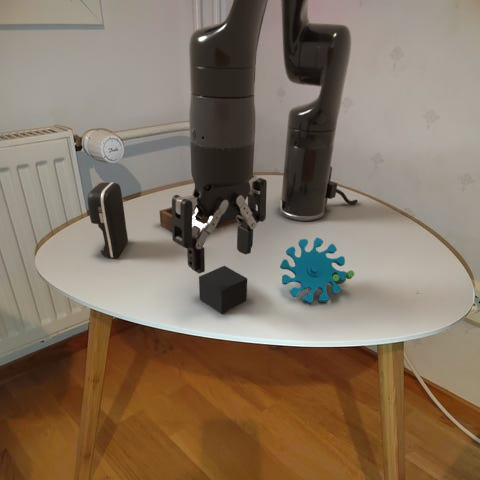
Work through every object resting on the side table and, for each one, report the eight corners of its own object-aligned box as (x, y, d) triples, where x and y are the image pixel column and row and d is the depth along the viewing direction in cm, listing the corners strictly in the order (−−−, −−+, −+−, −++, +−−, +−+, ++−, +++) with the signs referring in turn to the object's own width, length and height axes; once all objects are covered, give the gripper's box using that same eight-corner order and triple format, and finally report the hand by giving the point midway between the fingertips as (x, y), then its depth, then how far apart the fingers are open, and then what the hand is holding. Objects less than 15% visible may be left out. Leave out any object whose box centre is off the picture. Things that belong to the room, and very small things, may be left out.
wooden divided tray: (160, 225, 83) (159, 210, 81) (219, 206, 92) (218, 192, 90) (185, 239, 78) (184, 223, 77) (244, 218, 87) (245, 203, 85)
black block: (224, 287, 65) (224, 265, 63) (246, 301, 62) (247, 278, 60) (199, 299, 62) (198, 276, 60) (221, 314, 59) (221, 290, 57)
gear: (275, 294, 61) (287, 229, 62) (271, 301, 67) (282, 242, 68) (349, 309, 61) (360, 244, 62) (338, 315, 67) (348, 256, 68)
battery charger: (109, 240, 77) (98, 178, 70) (129, 241, 77) (120, 179, 70) (95, 258, 72) (81, 192, 65) (116, 259, 71) (105, 194, 65)
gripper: (194, 154, 42) (198, 289, 52) (287, 134, 51) (276, 255, 60) (152, 139, 47) (163, 267, 56) (244, 124, 55) (240, 238, 64)
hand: (221, 261), depth 58 cm, fingers open, 8 cm apart
